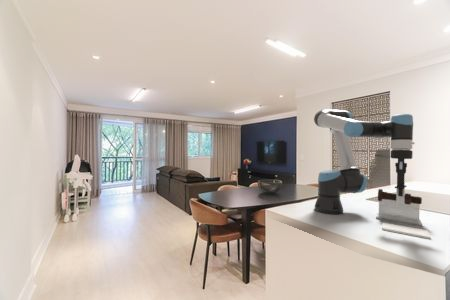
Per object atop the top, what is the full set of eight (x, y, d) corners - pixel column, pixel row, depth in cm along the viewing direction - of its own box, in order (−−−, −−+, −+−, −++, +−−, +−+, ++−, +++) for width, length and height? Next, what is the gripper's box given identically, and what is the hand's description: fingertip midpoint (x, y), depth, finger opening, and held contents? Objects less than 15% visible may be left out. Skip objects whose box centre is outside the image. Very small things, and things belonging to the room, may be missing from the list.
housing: (376, 218, 114) (376, 193, 114) (377, 214, 122) (377, 191, 122) (422, 226, 103) (422, 199, 103) (420, 221, 111) (420, 196, 111)
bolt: (421, 210, 92) (377, 203, 101) (420, 202, 95) (378, 196, 104) (422, 199, 89) (377, 192, 98) (421, 191, 93) (378, 186, 102)
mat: (381, 229, 98) (381, 227, 98) (382, 224, 106) (382, 222, 106) (430, 239, 88) (430, 237, 88) (427, 232, 96) (427, 230, 96)
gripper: (413, 149, 87) (412, 207, 87) (411, 150, 101) (411, 200, 101) (389, 149, 92) (388, 204, 92) (391, 149, 106) (390, 198, 105)
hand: (400, 202), depth 96 cm, fingers closed on bolt, 5 cm apart
